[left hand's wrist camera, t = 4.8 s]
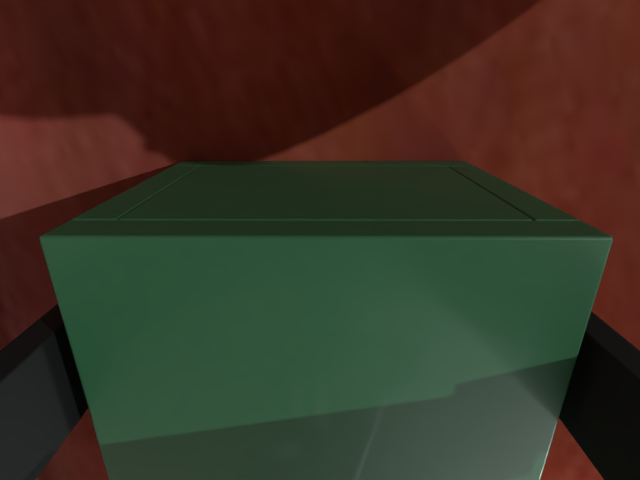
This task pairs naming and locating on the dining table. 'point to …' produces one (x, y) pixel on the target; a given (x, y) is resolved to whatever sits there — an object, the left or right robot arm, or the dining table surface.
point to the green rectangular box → (325, 321)
